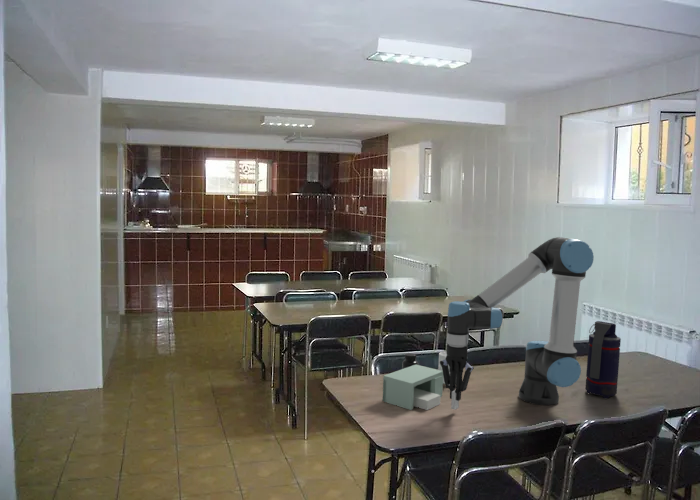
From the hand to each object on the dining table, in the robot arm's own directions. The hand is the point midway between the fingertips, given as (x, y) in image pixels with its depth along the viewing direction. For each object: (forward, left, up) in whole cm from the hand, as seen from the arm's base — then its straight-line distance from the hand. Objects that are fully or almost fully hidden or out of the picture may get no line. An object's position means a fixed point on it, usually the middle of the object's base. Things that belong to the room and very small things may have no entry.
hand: (454, 408), depth 213 cm
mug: (+20, -30, -2) cm, 36 cm away
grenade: (-32, -62, -2) cm, 70 cm away
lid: (+16, 0, -2) cm, 16 cm away
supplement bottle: (+32, -18, -2) cm, 37 cm away
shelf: (+19, -2, -2) cm, 19 cm away
